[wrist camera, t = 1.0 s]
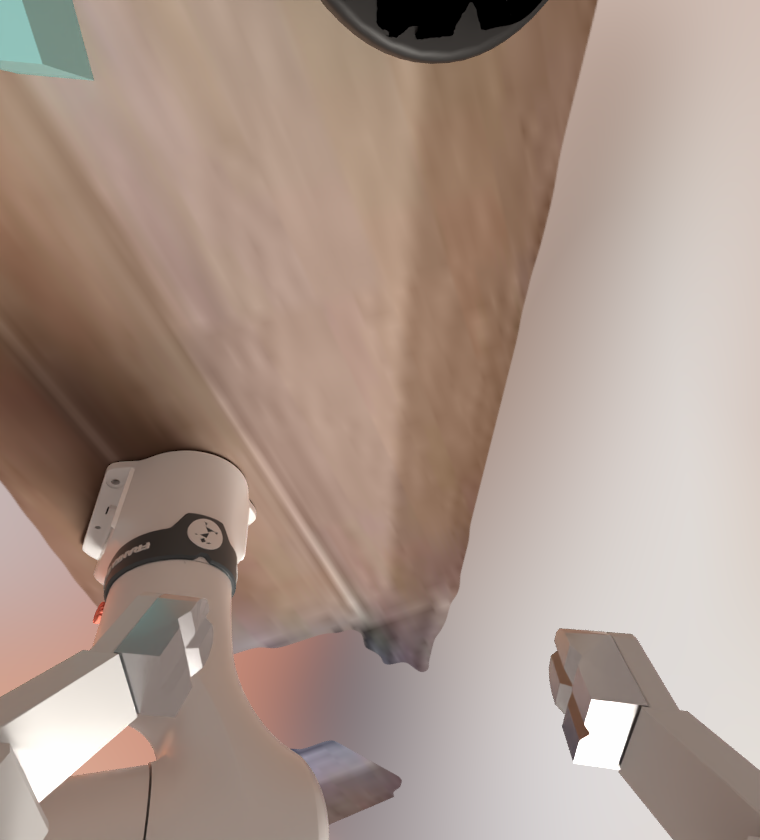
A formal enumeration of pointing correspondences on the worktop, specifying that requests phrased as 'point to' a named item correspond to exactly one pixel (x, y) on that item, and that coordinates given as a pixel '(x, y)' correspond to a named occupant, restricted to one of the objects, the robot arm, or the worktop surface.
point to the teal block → (42, 39)
